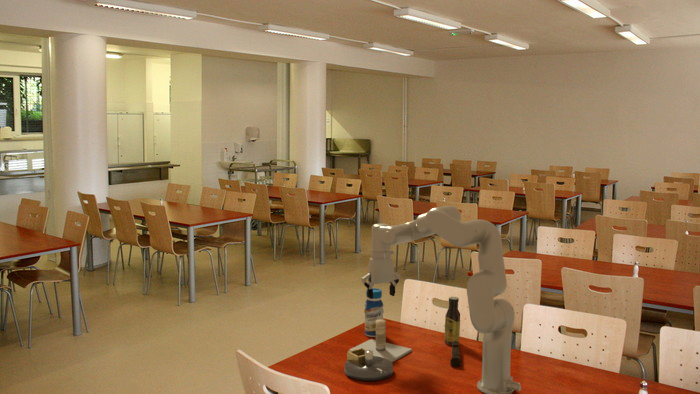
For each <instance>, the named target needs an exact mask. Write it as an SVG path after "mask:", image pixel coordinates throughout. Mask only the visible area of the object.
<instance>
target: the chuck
mask: <svg viewBox="0 0 700 394" xmlns="http://www.w3.org/2000/svg"><path fill="white" fill-rule="evenodd" d="M346 355H347V356H346V357H347V358H346V361H345V362H344V374H345V375H346V376H347V377H349V378H351V379H354V380H358V381H363V382H373V381H374V382H375V381H381V380H382V381H383V380H385V379H387V378H389V377H392V375H393V374H394V364H393V362H391V361H390V360H388V359H385V358H382V357H378V356H373V351H371V350H365V349H363V348H360V349H356V350H352V351H349V350H348V351H347V353H346Z"/></svg>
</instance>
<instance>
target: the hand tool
mask: <svg viewBox="0 0 700 394" xmlns="http://www.w3.org/2000/svg"><path fill="white" fill-rule="evenodd" d="M459 344H460V343H459ZM459 344H458V342H457V341H453V344H452V345H451V348H452V349H451V358H450V361H449V362H450V363H449V364H450V366H451V367H452V368H453V367H454V368H459V367H461V364H462V359H461V353H460V347H459Z"/></svg>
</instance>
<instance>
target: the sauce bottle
mask: <svg viewBox="0 0 700 394" xmlns="http://www.w3.org/2000/svg"><path fill="white" fill-rule="evenodd" d="M459 302H460V301H459V297H457V296H449V297H448V308H447V310H446V313H445V319H444V335H443V336H444V344H446V345H448V346H452V344H453V341H457V342H458V344H460V335H461V334H460V331H461V312H460V310H459Z"/></svg>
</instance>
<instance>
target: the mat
mask: <svg viewBox="0 0 700 394" xmlns="http://www.w3.org/2000/svg"><path fill="white" fill-rule="evenodd" d="M360 348H363V349H365V350H371V351H373V356H378V357H382V358H385V359H388V360H390V361H391V362H392V363H393V362H395V361H398V360H399V359H401V358H403V357H404V356H406V355H408V354H410V353H411V352H412V350H413V348H410V347H407V346H402V345H398V344H394V343H389V342H386V350H385V351H377V350H376V339H373V338H370V339H368V340H366V341H364V342H362V343H360V344H358V345H356V346H355V347H354V346H353V347H351V348H349V349H348V351H352V350H356V349H360Z"/></svg>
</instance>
